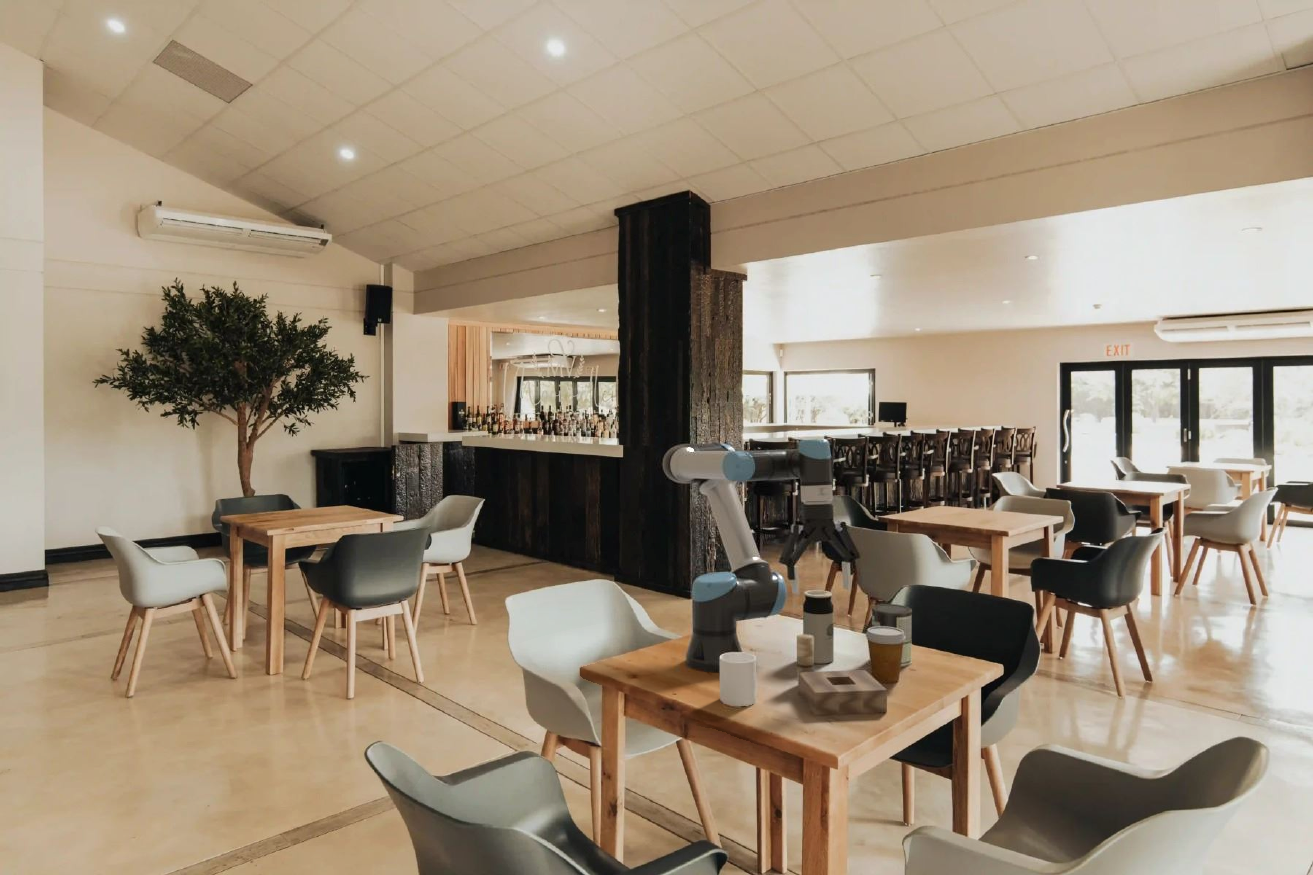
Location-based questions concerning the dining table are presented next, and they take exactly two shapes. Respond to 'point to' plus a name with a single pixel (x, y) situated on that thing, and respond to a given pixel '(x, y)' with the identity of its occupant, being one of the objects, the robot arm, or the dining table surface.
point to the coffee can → (895, 624)
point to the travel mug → (819, 624)
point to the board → (842, 692)
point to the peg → (805, 653)
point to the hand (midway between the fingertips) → (821, 591)
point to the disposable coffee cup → (885, 652)
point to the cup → (738, 678)
